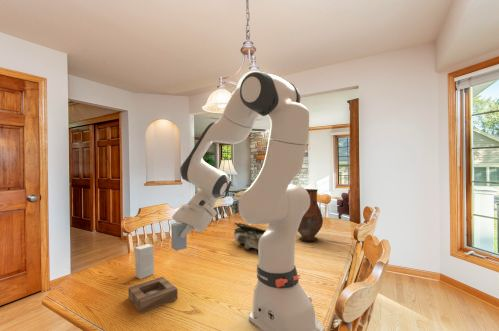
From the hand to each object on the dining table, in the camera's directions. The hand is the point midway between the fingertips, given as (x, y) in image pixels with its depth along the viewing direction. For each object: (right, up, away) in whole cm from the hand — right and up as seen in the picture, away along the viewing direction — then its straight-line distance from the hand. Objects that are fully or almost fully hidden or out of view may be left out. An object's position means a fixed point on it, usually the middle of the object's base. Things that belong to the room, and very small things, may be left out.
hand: (177, 235), depth 92 cm
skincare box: (-16, -20, +10) cm, 27 cm away
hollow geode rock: (+29, -19, +44) cm, 56 cm away
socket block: (-6, -19, -7) cm, 22 cm away
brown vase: (+60, -18, +54) cm, 83 cm away
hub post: (0, -5, +1) cm, 5 cm away
